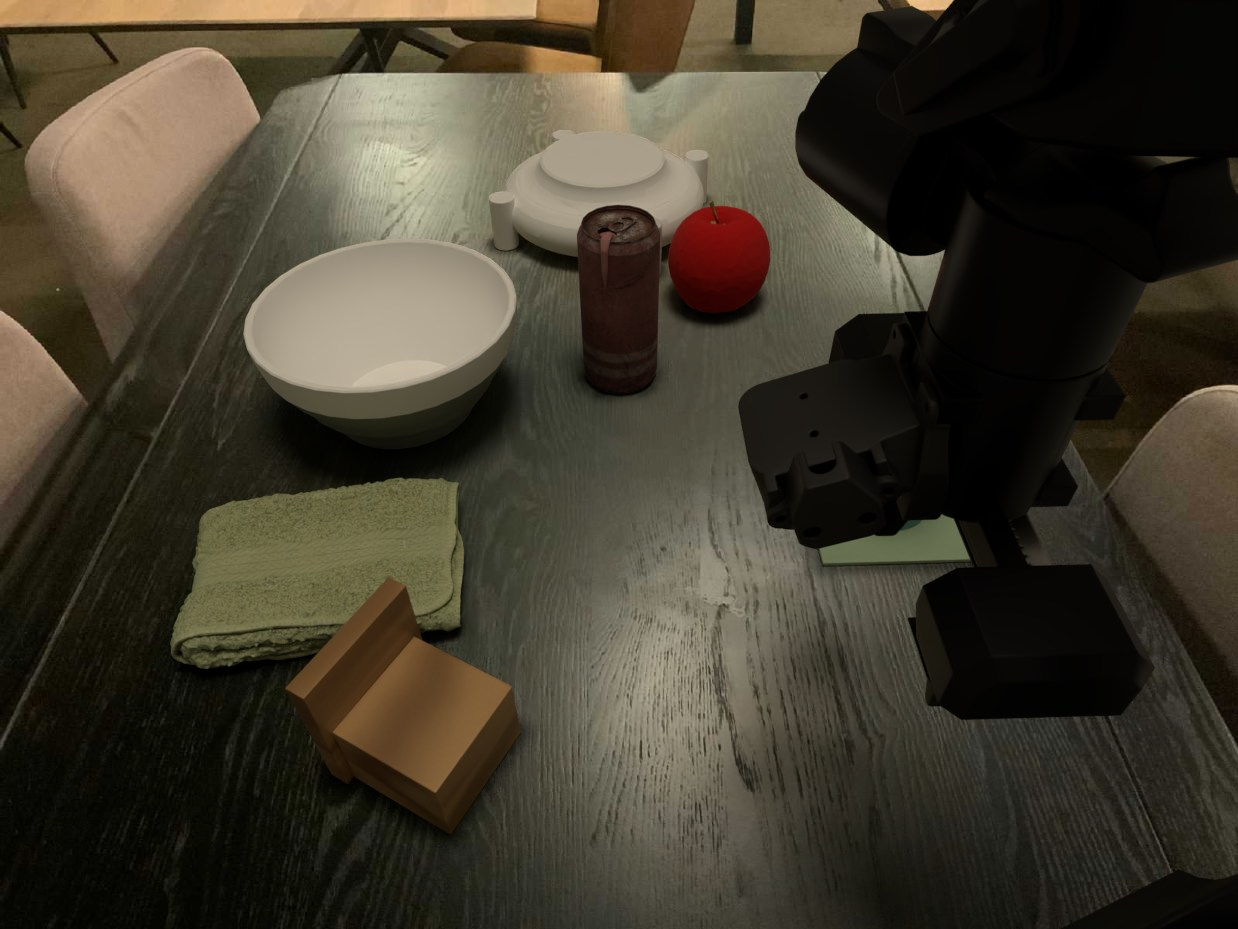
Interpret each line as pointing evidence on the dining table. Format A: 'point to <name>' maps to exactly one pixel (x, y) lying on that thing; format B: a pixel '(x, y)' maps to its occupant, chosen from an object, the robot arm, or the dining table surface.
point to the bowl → (385, 337)
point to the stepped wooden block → (404, 712)
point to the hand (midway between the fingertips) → (908, 611)
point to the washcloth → (317, 568)
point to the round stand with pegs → (595, 188)
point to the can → (619, 297)
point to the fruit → (719, 258)
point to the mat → (902, 546)
